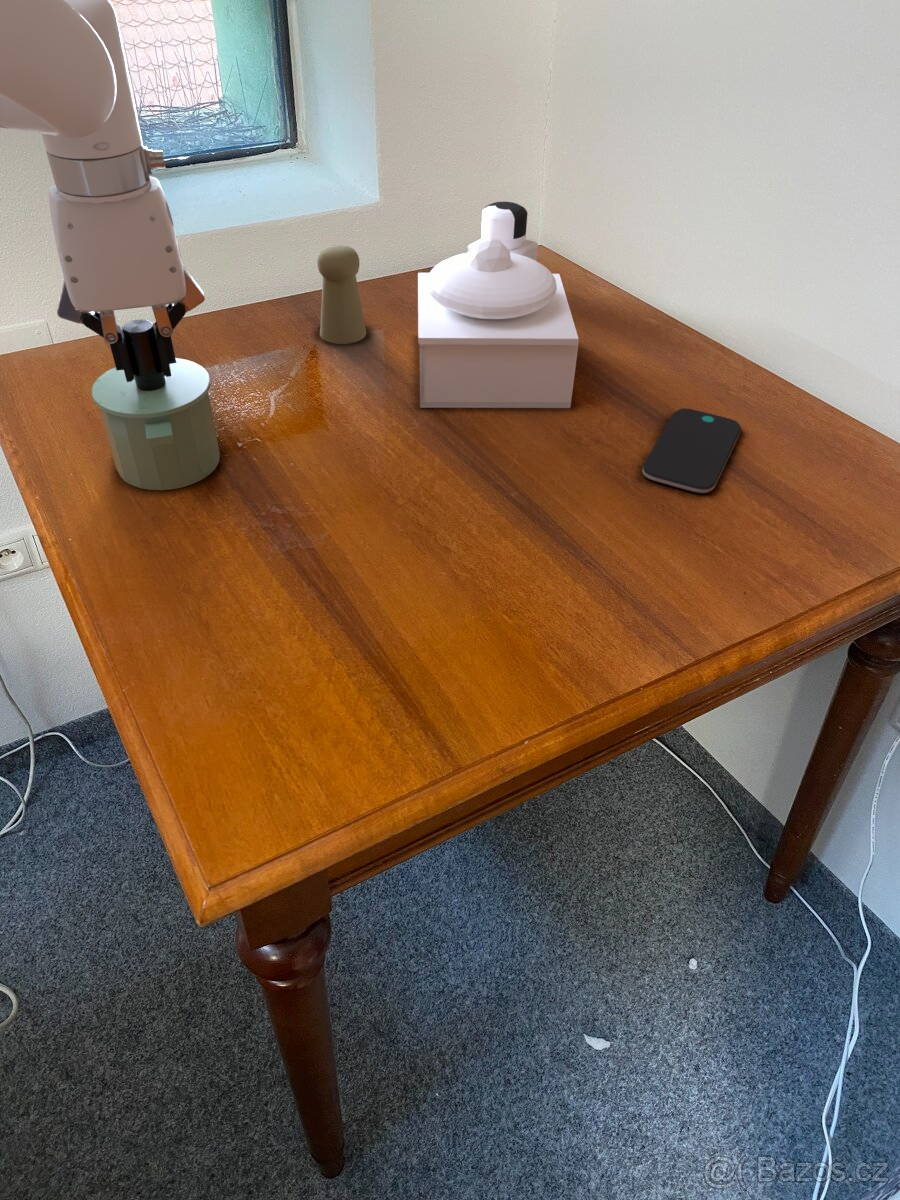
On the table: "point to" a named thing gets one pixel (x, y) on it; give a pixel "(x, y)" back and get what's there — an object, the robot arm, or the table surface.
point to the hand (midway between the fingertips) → (148, 371)
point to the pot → (164, 447)
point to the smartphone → (692, 451)
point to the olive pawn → (340, 295)
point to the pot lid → (149, 380)
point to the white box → (494, 333)
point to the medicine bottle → (507, 228)
